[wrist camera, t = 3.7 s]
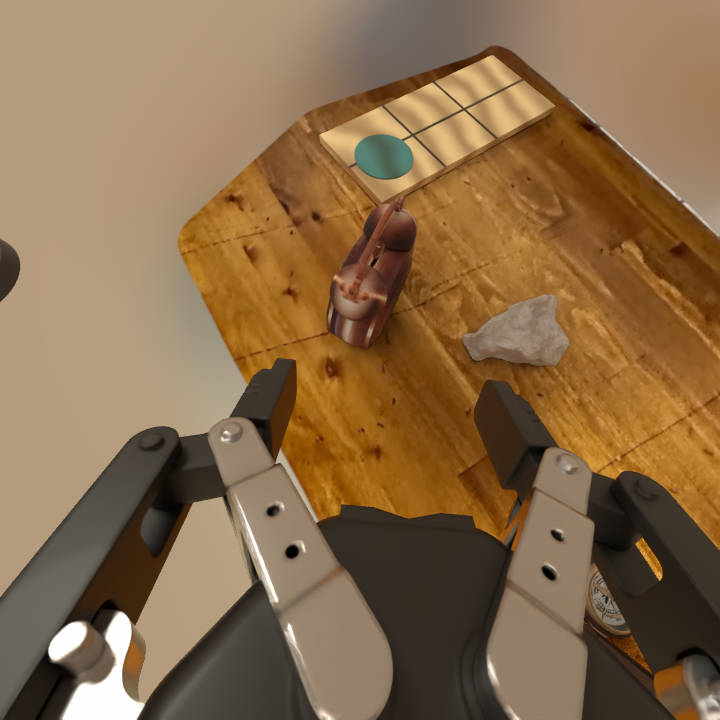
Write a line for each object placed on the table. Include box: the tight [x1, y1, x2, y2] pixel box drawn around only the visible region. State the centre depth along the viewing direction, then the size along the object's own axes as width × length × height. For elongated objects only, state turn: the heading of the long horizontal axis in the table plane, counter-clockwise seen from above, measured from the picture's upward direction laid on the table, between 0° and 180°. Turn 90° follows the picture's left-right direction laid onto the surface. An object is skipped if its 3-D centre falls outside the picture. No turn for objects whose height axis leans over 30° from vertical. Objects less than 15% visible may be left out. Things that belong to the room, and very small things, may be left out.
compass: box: [584, 557, 657, 698], centre depth 24 cm, size 8×8×7 cm
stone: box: [463, 294, 569, 366], centre depth 32 cm, size 10×8×6 cm
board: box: [320, 55, 555, 206], centre depth 44 cm, size 34×14×1 cm, turn 127°
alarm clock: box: [327, 197, 417, 350], centre depth 27 cm, size 11×5×15 cm, turn 155°
